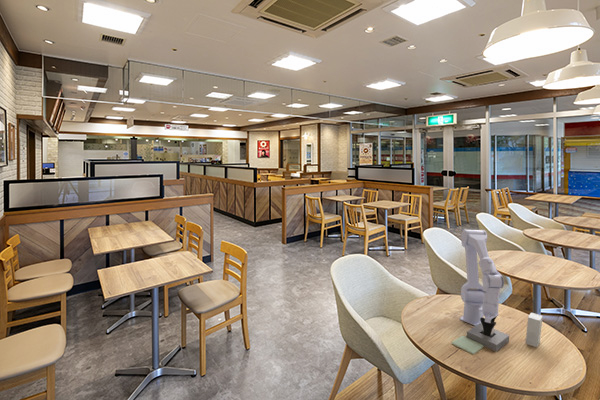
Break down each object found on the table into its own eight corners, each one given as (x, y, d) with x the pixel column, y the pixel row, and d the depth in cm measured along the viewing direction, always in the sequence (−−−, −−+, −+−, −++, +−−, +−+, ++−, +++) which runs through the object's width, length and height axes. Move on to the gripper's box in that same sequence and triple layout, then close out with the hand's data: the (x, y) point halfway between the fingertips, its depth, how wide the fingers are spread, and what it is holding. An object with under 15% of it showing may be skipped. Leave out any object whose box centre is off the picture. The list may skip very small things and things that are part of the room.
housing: (479, 329, 143) (480, 323, 143) (508, 341, 134) (509, 335, 133) (466, 337, 137) (466, 331, 136) (496, 351, 127) (496, 344, 126)
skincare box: (527, 337, 137) (530, 312, 135) (539, 342, 134) (543, 315, 132) (524, 343, 133) (527, 317, 131) (537, 348, 130) (540, 320, 128)
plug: (484, 336, 138) (485, 321, 137) (494, 340, 135) (495, 325, 134) (480, 339, 136) (481, 324, 135) (490, 343, 132) (491, 328, 131)
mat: (462, 336, 137) (462, 335, 137) (483, 346, 130) (484, 345, 130) (451, 343, 132) (451, 342, 132) (473, 354, 125) (473, 353, 125)
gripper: (482, 293, 141) (479, 321, 143) (477, 305, 129) (475, 335, 131) (500, 297, 137) (498, 326, 139) (497, 310, 125) (494, 341, 127)
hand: (488, 331), depth 135 cm, fingers open, 7 cm apart
